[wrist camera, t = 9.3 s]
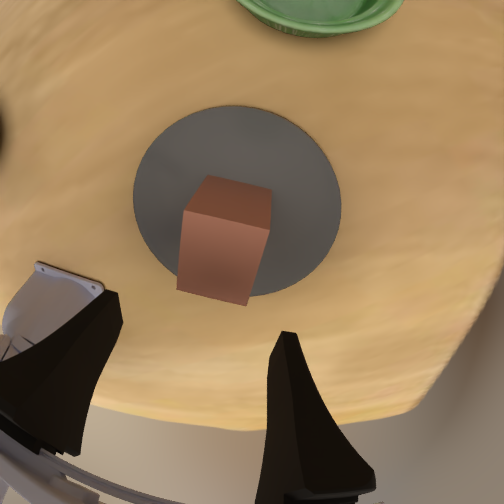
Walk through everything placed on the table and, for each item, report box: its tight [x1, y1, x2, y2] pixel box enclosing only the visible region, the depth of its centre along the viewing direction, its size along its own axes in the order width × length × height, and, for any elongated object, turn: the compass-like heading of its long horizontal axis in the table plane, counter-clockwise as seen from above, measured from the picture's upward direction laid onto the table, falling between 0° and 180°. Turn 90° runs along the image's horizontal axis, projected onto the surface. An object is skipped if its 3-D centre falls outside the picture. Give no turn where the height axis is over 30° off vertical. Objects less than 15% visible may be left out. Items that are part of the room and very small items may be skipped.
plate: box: [133, 106, 341, 296], centre depth 18 cm, size 14×14×1 cm
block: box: [177, 175, 272, 306], centre depth 16 cm, size 4×5×5 cm
